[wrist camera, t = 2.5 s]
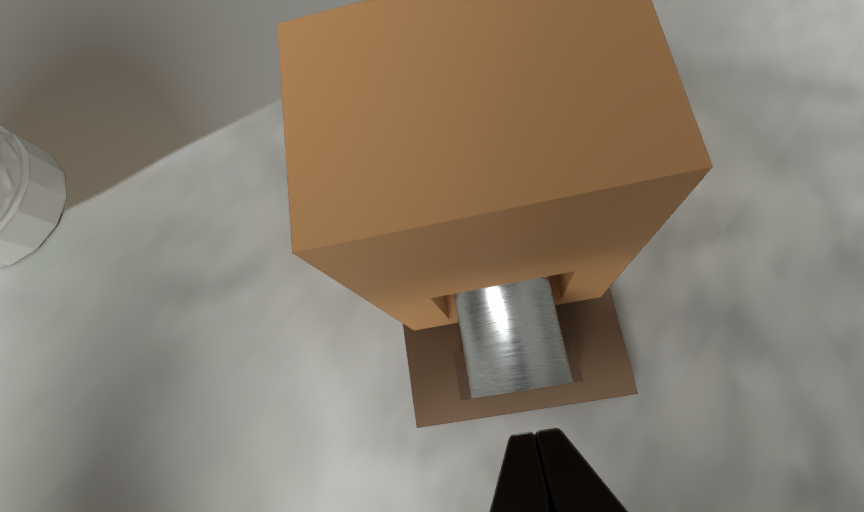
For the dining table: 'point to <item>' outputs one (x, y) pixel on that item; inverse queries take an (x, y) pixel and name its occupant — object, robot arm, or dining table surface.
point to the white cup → (27, 196)
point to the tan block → (481, 146)
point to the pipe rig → (516, 355)
